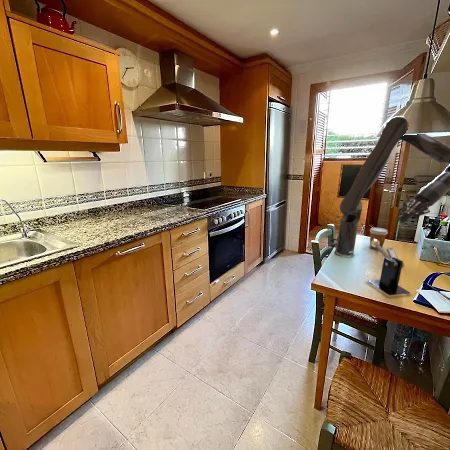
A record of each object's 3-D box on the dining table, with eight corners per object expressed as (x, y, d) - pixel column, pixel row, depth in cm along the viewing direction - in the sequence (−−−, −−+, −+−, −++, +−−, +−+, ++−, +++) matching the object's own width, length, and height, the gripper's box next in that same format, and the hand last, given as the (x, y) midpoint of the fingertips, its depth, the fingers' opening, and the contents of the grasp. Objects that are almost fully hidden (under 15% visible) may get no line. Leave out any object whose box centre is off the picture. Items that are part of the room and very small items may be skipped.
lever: (367, 243, 113) (371, 237, 111) (374, 242, 114) (378, 237, 111) (388, 269, 102) (393, 263, 99) (396, 268, 102) (401, 262, 100)
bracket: (367, 283, 110) (372, 254, 106) (386, 281, 112) (392, 253, 108) (388, 297, 99) (395, 266, 95) (409, 295, 100) (416, 264, 96)
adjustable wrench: (387, 249, 149) (387, 246, 148) (400, 251, 145) (400, 248, 145) (388, 264, 128) (389, 261, 128) (403, 267, 125) (404, 264, 124)
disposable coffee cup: (384, 246, 153) (387, 228, 149) (385, 251, 145) (388, 232, 141) (367, 244, 157) (369, 226, 154) (366, 249, 149) (370, 230, 146)
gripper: (414, 185, 112) (385, 212, 114) (441, 189, 99) (407, 219, 102) (423, 196, 114) (393, 222, 116) (450, 202, 101) (416, 231, 103)
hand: (400, 221), depth 109 cm, fingers closed
